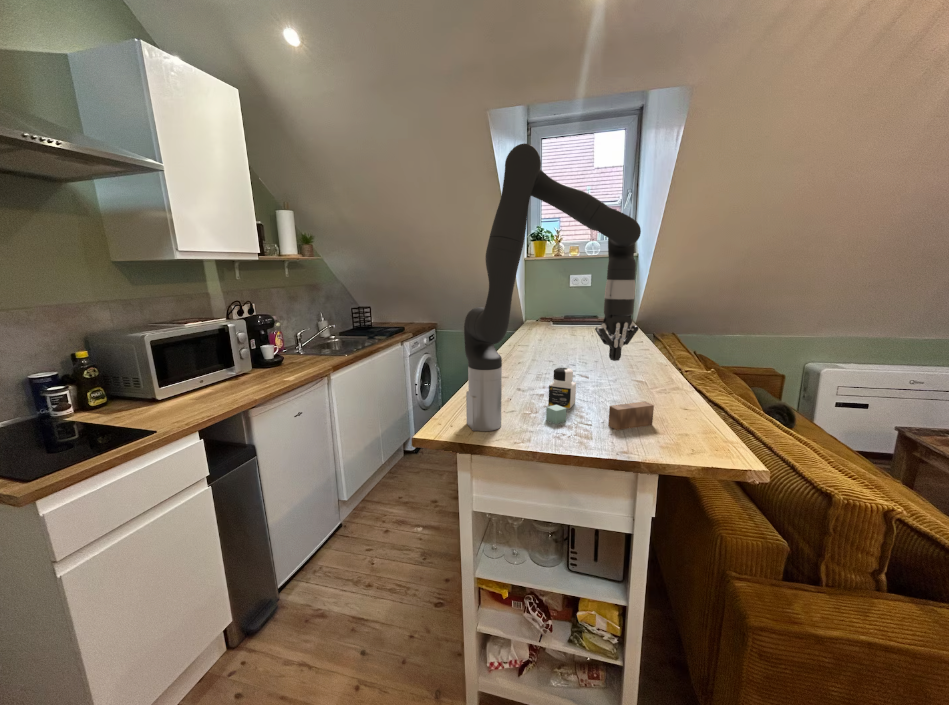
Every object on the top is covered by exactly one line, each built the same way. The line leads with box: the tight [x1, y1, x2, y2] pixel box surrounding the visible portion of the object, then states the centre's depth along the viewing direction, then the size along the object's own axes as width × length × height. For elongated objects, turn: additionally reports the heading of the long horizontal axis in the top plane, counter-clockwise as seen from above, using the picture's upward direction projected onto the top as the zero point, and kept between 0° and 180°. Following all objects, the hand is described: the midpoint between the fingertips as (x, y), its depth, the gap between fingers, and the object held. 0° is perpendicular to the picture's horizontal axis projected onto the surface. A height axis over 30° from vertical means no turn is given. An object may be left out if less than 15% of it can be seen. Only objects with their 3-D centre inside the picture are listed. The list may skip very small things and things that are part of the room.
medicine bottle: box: [548, 367, 577, 410], centre depth 130 cm, size 7×7×12 cm
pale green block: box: [545, 405, 567, 425], centre depth 117 cm, size 4×4×4 cm
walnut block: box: [607, 401, 655, 431], centre depth 113 cm, size 6×4×12 cm
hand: (614, 360), depth 111 cm, fingers closed
